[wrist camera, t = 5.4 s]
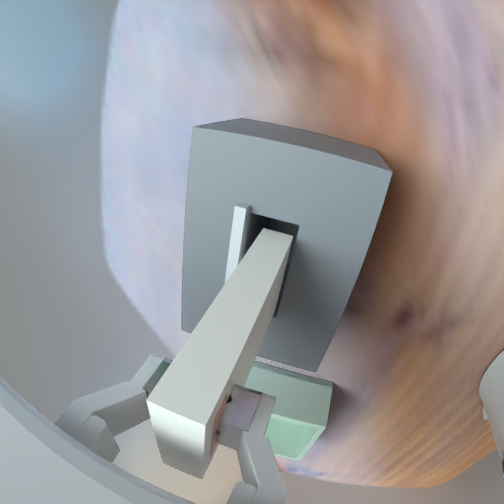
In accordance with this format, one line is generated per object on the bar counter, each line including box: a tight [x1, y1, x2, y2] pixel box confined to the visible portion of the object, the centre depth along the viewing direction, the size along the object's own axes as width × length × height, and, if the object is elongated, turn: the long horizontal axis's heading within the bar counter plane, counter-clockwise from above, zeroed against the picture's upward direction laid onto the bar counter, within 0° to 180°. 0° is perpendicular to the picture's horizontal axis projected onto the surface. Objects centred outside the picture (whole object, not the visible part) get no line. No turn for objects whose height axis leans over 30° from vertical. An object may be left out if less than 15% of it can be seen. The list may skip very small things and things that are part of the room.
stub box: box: [244, 361, 333, 461], centre depth 32 cm, size 10×10×6 cm
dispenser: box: [181, 118, 393, 372], centre depth 20 cm, size 10×14×9 cm
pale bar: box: [146, 228, 293, 479], centre depth 12 cm, size 2×5×11 cm, turn 171°
